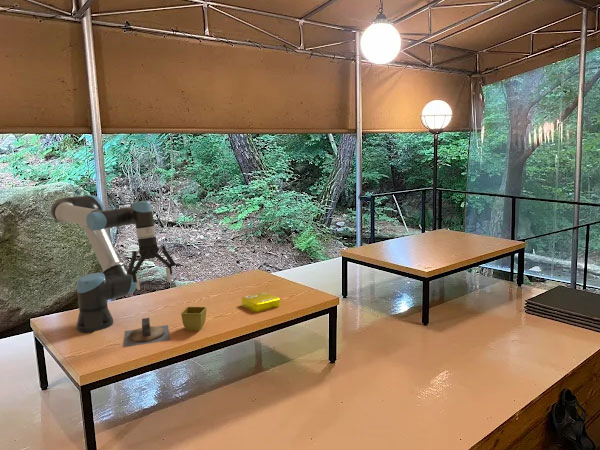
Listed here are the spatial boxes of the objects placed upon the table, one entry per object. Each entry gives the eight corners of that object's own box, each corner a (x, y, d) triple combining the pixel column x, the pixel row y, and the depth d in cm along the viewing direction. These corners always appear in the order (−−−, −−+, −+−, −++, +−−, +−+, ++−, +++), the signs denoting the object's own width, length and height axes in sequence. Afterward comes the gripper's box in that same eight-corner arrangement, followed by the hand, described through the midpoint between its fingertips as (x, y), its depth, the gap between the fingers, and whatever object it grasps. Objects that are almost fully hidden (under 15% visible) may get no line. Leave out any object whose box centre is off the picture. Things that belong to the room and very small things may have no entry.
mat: (123, 348, 188) (123, 347, 188) (125, 332, 205) (125, 331, 205) (170, 341, 194) (170, 340, 194) (168, 326, 211) (168, 325, 211)
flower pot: (208, 326, 210) (206, 306, 208) (202, 333, 201) (200, 313, 199) (188, 326, 210) (187, 306, 209) (182, 333, 202) (180, 313, 200)
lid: (128, 344, 191) (127, 329, 190) (129, 332, 204) (128, 318, 203) (164, 338, 195) (163, 324, 194) (163, 327, 208) (162, 313, 207)
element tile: (255, 313, 224) (255, 304, 224) (240, 305, 236) (239, 296, 236) (281, 306, 233) (281, 297, 232) (265, 299, 245) (265, 290, 244)
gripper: (119, 242, 192) (127, 293, 194) (178, 232, 206) (185, 280, 208) (114, 241, 198) (122, 291, 200) (171, 232, 212) (178, 278, 214)
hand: (154, 285), depth 204 cm, fingers open, 13 cm apart
